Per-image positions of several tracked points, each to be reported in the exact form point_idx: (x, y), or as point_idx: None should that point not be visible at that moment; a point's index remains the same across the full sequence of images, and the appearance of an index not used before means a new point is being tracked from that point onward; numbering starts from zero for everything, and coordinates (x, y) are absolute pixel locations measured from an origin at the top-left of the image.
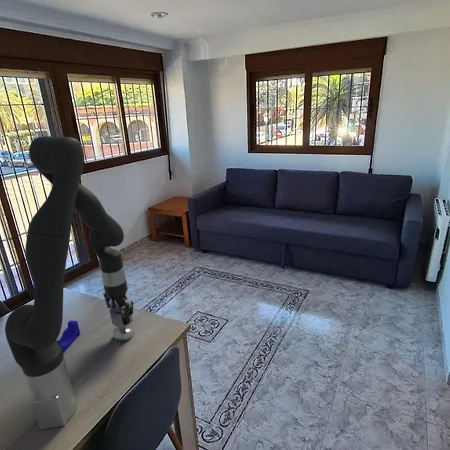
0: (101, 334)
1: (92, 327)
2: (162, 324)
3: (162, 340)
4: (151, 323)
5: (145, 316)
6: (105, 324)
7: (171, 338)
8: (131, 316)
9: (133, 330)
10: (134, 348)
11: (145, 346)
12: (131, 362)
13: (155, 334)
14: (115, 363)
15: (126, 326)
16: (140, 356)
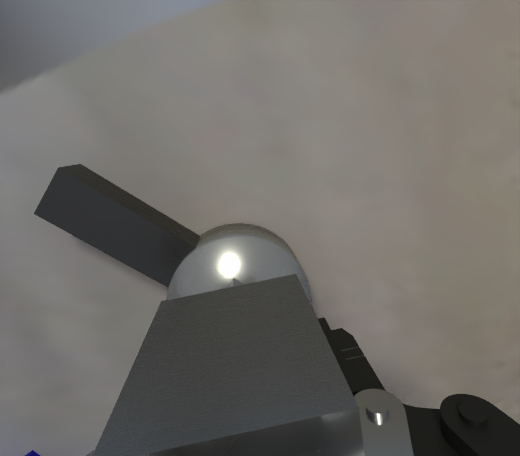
0: (122, 372)
1: (8, 388)
2: (338, 12)
3: (474, 129)
4: (258, 73)
5: (134, 53)
6: (29, 321)
7: (513, 69)
8: (309, 305)
9: (278, 243)
10: (387, 289)
11: (426, 237)
12: (458, 343)
13: (389, 128)
14: (399, 396)
15: (234, 284)
16: (464, 294)
